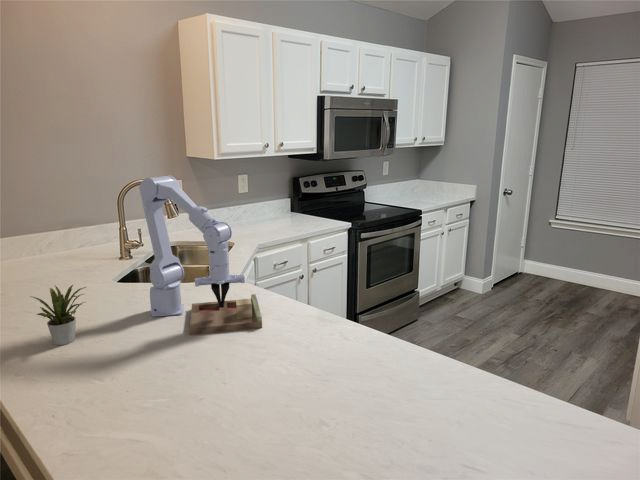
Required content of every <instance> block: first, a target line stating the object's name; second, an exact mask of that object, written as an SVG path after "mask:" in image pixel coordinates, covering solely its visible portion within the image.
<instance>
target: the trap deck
mask: <svg viewBox="0 0 640 480" xmlns="http://www.w3.org/2000/svg"><path fill="white" fill-rule="evenodd" d="M250 297H251V298H250V299H251V303H252V318H242V319H237V310H236V300H237V299H231V300H225V301H224V307H222V308H219V304H218V301H207V302H196V303H195V302H194V303H192V304H191V311H190V318H189V327H188V328H189V336H193V335H194V336H195V335H201V334H202V335H203V334H212V333H215V334H216V333H222V332H223V333H224V332H234V331H243V330H251V329H252V330H253V329H255V330H256V329H263V319H262V318H263V316H262V313H261V309H260V306H259V302H258V298H257V294H255V293H253V294H250Z"/></svg>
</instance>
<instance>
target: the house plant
mask: <svg viewBox="0 0 640 480" xmlns="http://www.w3.org/2000/svg"><path fill="white" fill-rule="evenodd" d="M54 287H55V289H54V288H51V287H50V288H49V292H50V296H51V304H52V308H53V309H52V308H51V306H50V305H49V304H48V303H47V302H45V301H44V300H42V299H40V298H38V297H37V296H33V295H31V296H29V297H30V298H33V299H35V300H37V301H39V302H40V303H41V304H43V306H45V307H46V308H47V309H48V310H49V311H48V310H47V309H45V308H44V307H42V306H40V307H39V308H40V309H41V311H42V312H38V313H36V314H35V315H36V316H42V319H44V318H47V319H49V320H47V322H46V325H47V327H48V331H49V333H50V336H51V338H52V342H53V345H56V346H64V345H69V344H71V343H73V342H75V340H76V327H77V325H76V324H77V323H76V322H77V321H76V320H77V318H76V317H75V314H76V312H77V309H78V308H79V307H80V306H82V305H83V304H84V303H85V304H86V301H83V302H82V301H81V303H74V302H75V301H76V300H77V299H78V298H79V297H80V296H82V295H84V293H81V294H79V295H76V294H77V293H79V292H80V291H81V290H83V289H86V288H87V286H84V287H81V288H78V289H77V290H76V291H74V292H73V293H72V295H71V292H72V290H73V287H74V284H71V285H70V286H69V287H68V289H67V291H66V293H65V294H62V292H61V290H60V289H59V288H58V286H56V285H54ZM55 290H56V291H55ZM56 292H57V293H56ZM69 297H70V298H69ZM73 298H74V299H73ZM71 301H72V303H71V304H70V302H71ZM69 305H70V306H69ZM68 307H69V308H68ZM74 307H75V308H74ZM73 308H74V309H73ZM72 309H73V310H72ZM73 315H74V316H73Z"/></svg>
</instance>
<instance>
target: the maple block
mask: <svg viewBox="0 0 640 480" xmlns="http://www.w3.org/2000/svg"><path fill="white" fill-rule="evenodd" d="M235 300H236V310H237V319H242V318H252V303H251V298H242V299H241V298H239V299H235Z"/></svg>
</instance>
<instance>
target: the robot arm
mask: <svg viewBox="0 0 640 480" xmlns="http://www.w3.org/2000/svg"><path fill="white" fill-rule="evenodd" d="M138 188H139V192H140V196H141V200H142V207H143V212H144V216H145V221H146V225H147V229H148V235H149V238H150V243H151V248H152V252H153V255H154V259H153V260H152V262H151V263H150V265H149V266H148V267H149V281H150V283H151V284H152V286H150V287H149V303H150V311H151V313H150V314H151V315H150V316H151V317H152V318H153V317H155V318H157V317H164V316H166V317H167V316H176V315H178V316H179V315H183V312H184V304H183V303H182V295H181V294H182V293H181V284H182V280H183V279H184V278H185V270H184V267H183V266H182V264H181V261H180V258H179V257H177V256H176V255H174V254H173V251H172V250H173V249H172V248H171V247H172V246H171V243H170V238H169V234H168V229H167V225H166V219H165V216H164V211H163V206H164V204H165V203H166V202H167V201H168V200H171V201H172V202H173V203H174V204H176V206H178V207H179V208H181V209H182V210H183V211H184V212H186V213H187V214H188V220H189V222H190V223H192V225H193V226H195V228H197V229H198V230H199V231H200V232H201V233H202V237H203V240H204V242H205V244H206V249H207V250H208V262H209V263H208V264H209V276H204V277H203V276H202V277H196V278H194V287H199V286H209V285H210V287H211V288H210V289H211V291H212V293H213V295H215V298H216V300H217V301H216V302H218V304H219V308H222V307H224V301H226V297H227V294H228V291H229V290H230V284H240V283H241V284H245V283H246V282H245V275H244V274H230V258H229V254H230V253H229V241H230V240H231V238H232V235H233V234H232V233H233V230H232V229H231V227H230V225H229V223H228V222H225V221H220V220H219V219H217V218H215V216H214V215H213V214H212V213H210V212H209V210H208V208H207V207H206V206H205V207H204V206H202V205H201V206H198V205H196V203H195V202H194V201H193V200H192V199H191V197H189V196H188V195H187V193H186V192H185V191H184V190H183V189H182V188H181V186H180V182H179V181H178V180H177V179H176V178H175V177H174V176H173V175H170V174H168V175H164V176H154V177H145V178H144V179H143V180H142V181H141V183H140V185H139V186H138Z"/></svg>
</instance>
